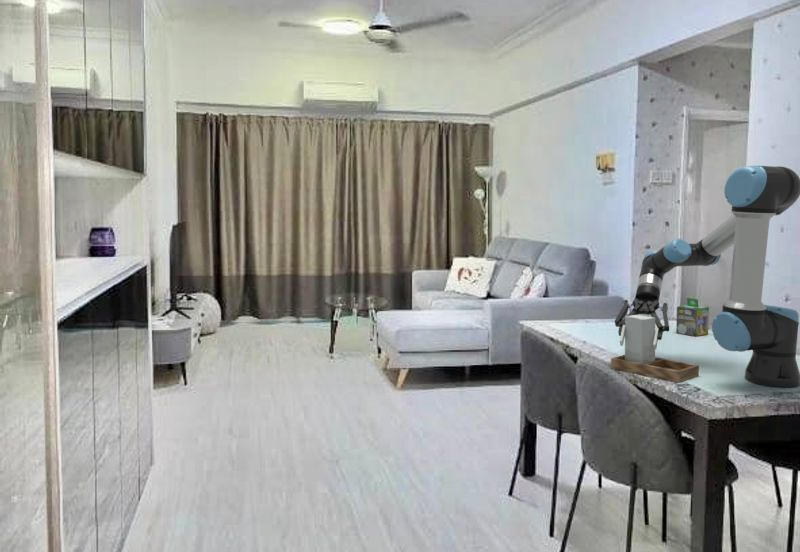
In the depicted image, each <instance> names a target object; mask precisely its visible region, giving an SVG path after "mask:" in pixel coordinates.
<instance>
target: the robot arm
mask: <svg viewBox="0 0 800 552" xmlns="http://www.w3.org/2000/svg"><path fill="white" fill-rule="evenodd" d="M723 192H724V197H725V199H726V201H727V204H729V205H731V213H732V214H731V216H729V217H728V218H727V219H726V220H725V221H723V222H722V223H721V224H720V225H718V226H717V227H716V228H715V229H713V230H712V231H711V232H710V233H708V234H707V235H706V236H704V237H703V238H702V239H701V240H699V241H697V242H696V243H688V241H686V240H684V239H682V238H674V239H673V240H672V241H669V242H668V243H666V244H665V245H664V246H663V247H661V248H660V249H659V250H657V249H655V250H654V249H653V250H650V251H649V250H648V251H647V252H646V253H645V254H644V257H643V259H642V262H641V268H640V273H639V277H638V281H637V287H636V292H635V297H634V299H633V301H629V300H628V299H625V300H624V301H623V306H622V307H621V309H620V311H619V313H618V314H617V316H616V318H615V320H614V325H615V327H618V332H617V333H618V336H619V345H620V346H621V347H624V346H623V345H624V344H625V316H631V315H639V314H647V315H649V314H651V316H652V317H654V318H655V337H654V342H653V347H654V349H655V350H657V346H658V342H659V341H661V340H663V339H662V338H663V333H664V332H670V324H669V319H668V309H669V308H668V303H667V302H664V303H659V301H660V296H661V290H662V285H663V281H664V276H665V275H666V274H667V273H669V272H671V271H672V270H673V269H675V268H676V267H695V266H696V267H697V266H699V267H700V266H701V267H702V266H703V267H707V266H713V265H716V264H717V263H718V262H719V261H720V259H721V257H722V253H724V252H725V251H726V250H728V249H729V248H731V247H732V246H733V252H732V264H731V273H730V274H731V275H730V285H729V295H728V298H727V300H725V301H724V302H723V303H722V310H721V311H722V312H720V313H717V314H716V316H715V317H714V318H713V320H712V325H711V331H712V335H713V337H714V340H715V341H716V342H717V344H718V345H719V346H720V347H721V348H723V349H724V350H726V351H729V352H740V353H742V352H745V351H748V352H749V351H752V355H751V358H750V360H749V361H748V363H747V366H746V368H745V371H744V379H745V380H746V381H748V382H750V383H753V384H756V385H757V384H758V385H763V386H768V387H776V388H795V387H798V386H800V369H799V365H798V362H797V359H796V358H797V345H798V334H799V333H798V332H799V325H800V322H799V317H800V316H799V315H800V314H799V312H798V310H796V309H793V308H788V307H782V306H776V305H775V306H774V305H769V304H768V305H767V304H764V303H763V302H762V298H763V289H764V280H765V279H764V278H765V277H764V276H765V268H766V257H767V247H768V239H769V228H770V220H771V219H772V218H773V217H774V216H780V215H781V214H783V213H784V212H785V211H787V210H788V209H789V208H790V207H792V206H793V205H794V204H795V203H796V202H797V200H798V199H799V198H800V177H799V174H797V173H796V171H794V170H793V169H791V168H789V167H785V166H770V165H767V166H766V165H755V164H754V165H744V166H740V167H738V168H736V169H735V170H734V171H733V172H732V173H730V175H729V176H728V178H727V180H726V182H725V185H724V191H723ZM632 306H633V308H632ZM631 308H632V310H630V312H629V313H628V314H627V312H628V311H629V309H631ZM658 309H659V310H660V311H662V319H663V324H664V325H663V324H662V322H661V320H660V318H659V316H658V314H657V312H656V311H657V310H658Z"/></svg>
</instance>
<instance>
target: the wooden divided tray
mask: <svg viewBox="0 0 800 552" xmlns="http://www.w3.org/2000/svg"><path fill="white" fill-rule="evenodd" d="M610 369H612V370H617V371H622V372H627V373H631V374H636V375H639V376H640V375H641V376H645V377H651V378H653V379H654V378H655V379H659V378H660V379H659V380H663V379H665V380H664V381H668V380H670V381H669V382H673V381H674V383H677V382H679V383H681V381H682V382H685V381H688V380H690V378H691V379H693V377H694V378H696V377H698V376H699V375H700V374H699V372H700V365H697V364H693V363H688V362H683V361H677V360H671V359H667V358H662V357H658V356H655V361H653V362H650V363H646V364H641V363H636V362H632V361H628V360H625V354H623V355H619V356H615V357H611V359H610ZM687 379H688V380H687ZM684 380H685V381H684Z"/></svg>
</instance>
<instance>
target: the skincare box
mask: <svg viewBox="0 0 800 552" xmlns="http://www.w3.org/2000/svg"><path fill="white" fill-rule="evenodd" d="M624 318H625V338H624V355H625V360H628V361H632V362H636V363H641V364H646V363H650V362H653V361H655V357H656V349H654V347H653V342H654V337H655V331H656V324H655V318H654V317H647V316H642V315H631V316H627V315H625V316H624Z"/></svg>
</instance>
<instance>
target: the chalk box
mask: <svg viewBox="0 0 800 552" xmlns="http://www.w3.org/2000/svg"><path fill="white" fill-rule="evenodd" d="M686 302H687V304H684V305H683V304H682V305H678V306H677V307H676V330H675V331H676V333H675V334H679V335H680V334H681V335H685V336H689V337H701V336H704V335H708V334H709V320H710V318H709V317H710V306H707V305H699V300H698V299H697V298H690V297H687V298H686ZM691 302H694V304H693V303H691Z"/></svg>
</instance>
